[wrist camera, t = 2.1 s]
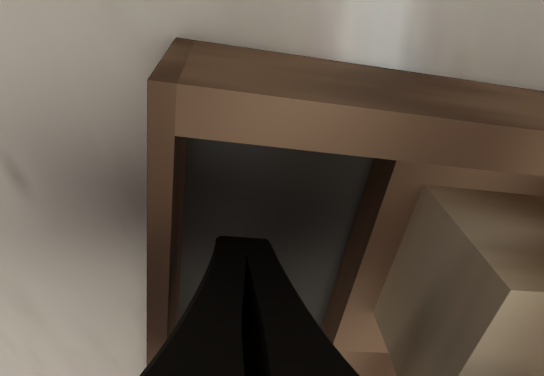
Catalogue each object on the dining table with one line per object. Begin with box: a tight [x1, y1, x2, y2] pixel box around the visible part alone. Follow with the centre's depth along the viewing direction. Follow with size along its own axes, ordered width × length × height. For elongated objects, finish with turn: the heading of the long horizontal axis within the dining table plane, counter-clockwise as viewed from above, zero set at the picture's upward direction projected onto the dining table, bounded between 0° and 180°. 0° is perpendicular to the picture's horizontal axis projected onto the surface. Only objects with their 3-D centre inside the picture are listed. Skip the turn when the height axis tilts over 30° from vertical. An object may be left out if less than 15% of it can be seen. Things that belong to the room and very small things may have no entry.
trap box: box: [147, 38, 544, 376], centre depth 15 cm, size 26×17×4 cm, turn 81°
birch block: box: [373, 184, 544, 376], centre depth 11 cm, size 5×5×4 cm
